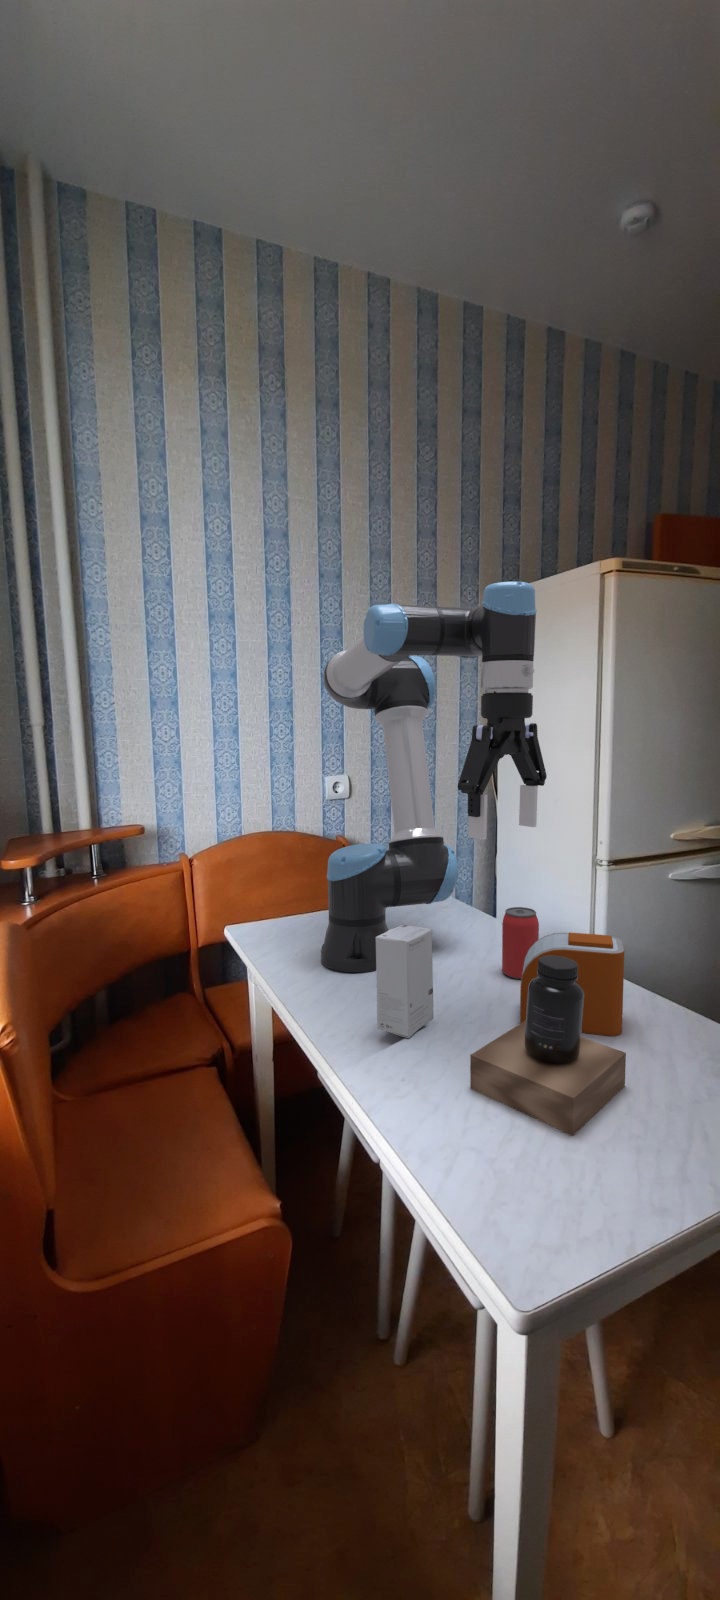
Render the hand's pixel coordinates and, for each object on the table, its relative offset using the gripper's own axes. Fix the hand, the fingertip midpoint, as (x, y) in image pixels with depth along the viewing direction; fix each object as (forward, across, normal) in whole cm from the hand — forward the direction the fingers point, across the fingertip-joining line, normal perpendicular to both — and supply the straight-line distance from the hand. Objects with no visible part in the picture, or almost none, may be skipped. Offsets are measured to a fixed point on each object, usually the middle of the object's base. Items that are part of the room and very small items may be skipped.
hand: (503, 832), depth 99 cm
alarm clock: (+30, +7, -9) cm, 32 cm away
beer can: (+30, +18, +7) cm, 36 cm away
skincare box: (+30, -13, +9) cm, 34 cm away
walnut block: (+30, -13, -16) cm, 36 cm away
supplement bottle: (+25, -13, -16) cm, 32 cm away
